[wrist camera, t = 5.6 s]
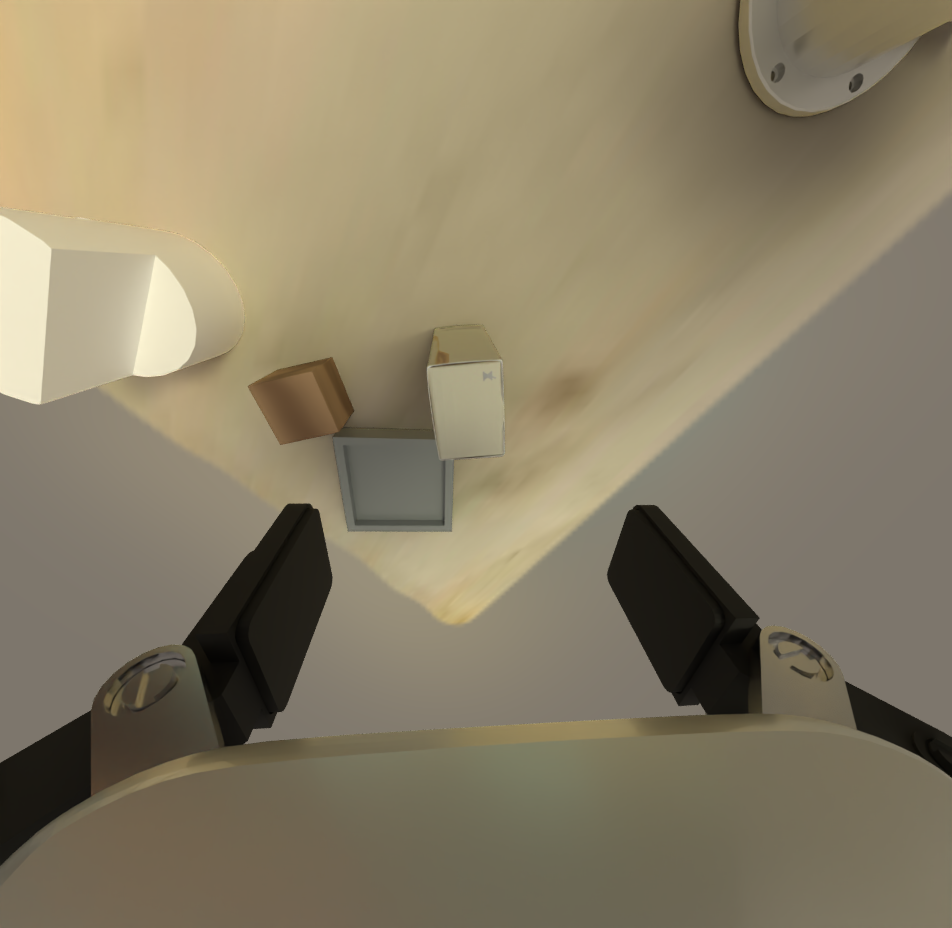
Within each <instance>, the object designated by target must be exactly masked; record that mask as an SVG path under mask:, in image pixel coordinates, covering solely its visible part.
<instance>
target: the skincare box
mask: <svg viewBox="0 0 952 928" xmlns="http://www.w3.org/2000/svg"><path fill="white" fill-rule="evenodd" d="M427 382H428V393H429V401H430V408H431V415H432V422H433V428H434V434H435V440H436V445H437V450H438V456H439V460H442V461H443V460H460V459H477V458H491V457H502V456H503V455H504V454H505V416H504V383H503V360H502V359H501V357H500V355H499V353H498V351H497V350H496V348H495V346H494V344H493V343H492V341H491V339H490V337H489V335H488V334H487V332H486V330H485V328H484V326H483V325H463V326H449V327H441V328H435V329H434V335H433V340H432V345H431V350H430V356H429V360H428V365H427Z"/></svg>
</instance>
